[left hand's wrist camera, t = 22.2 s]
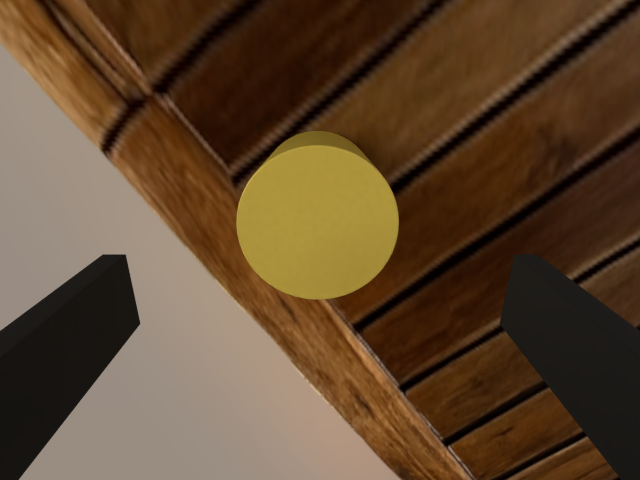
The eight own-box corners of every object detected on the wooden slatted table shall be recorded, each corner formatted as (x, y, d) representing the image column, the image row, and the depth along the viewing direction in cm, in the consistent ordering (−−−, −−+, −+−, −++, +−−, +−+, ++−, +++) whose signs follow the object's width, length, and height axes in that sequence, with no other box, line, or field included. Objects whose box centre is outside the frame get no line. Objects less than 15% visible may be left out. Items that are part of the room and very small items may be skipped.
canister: (294, 258, 32) (285, 322, 22) (240, 164, 29) (204, 193, 20) (391, 213, 30) (423, 261, 21) (344, 109, 27) (357, 113, 18)
